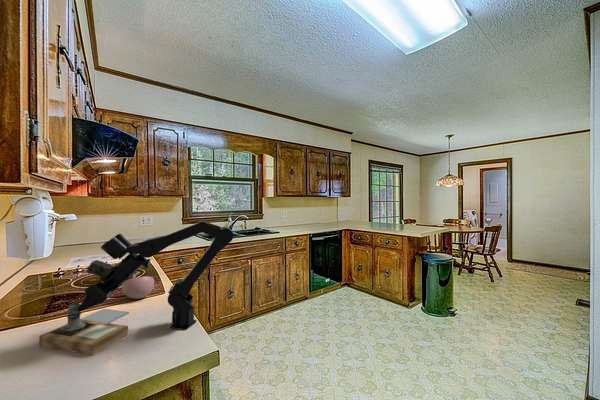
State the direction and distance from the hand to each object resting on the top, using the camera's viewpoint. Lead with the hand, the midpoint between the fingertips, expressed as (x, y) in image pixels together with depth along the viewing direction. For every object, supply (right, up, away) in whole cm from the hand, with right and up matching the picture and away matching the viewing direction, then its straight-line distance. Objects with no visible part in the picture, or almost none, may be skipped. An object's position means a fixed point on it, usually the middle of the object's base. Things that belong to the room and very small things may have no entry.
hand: (85, 304), depth 84 cm
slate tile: (-4, -10, +13) cm, 17 cm away
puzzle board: (+2, -10, -2) cm, 11 cm away
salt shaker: (-3, -10, -1) cm, 11 cm away
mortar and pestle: (-3, -10, +33) cm, 35 cm away
